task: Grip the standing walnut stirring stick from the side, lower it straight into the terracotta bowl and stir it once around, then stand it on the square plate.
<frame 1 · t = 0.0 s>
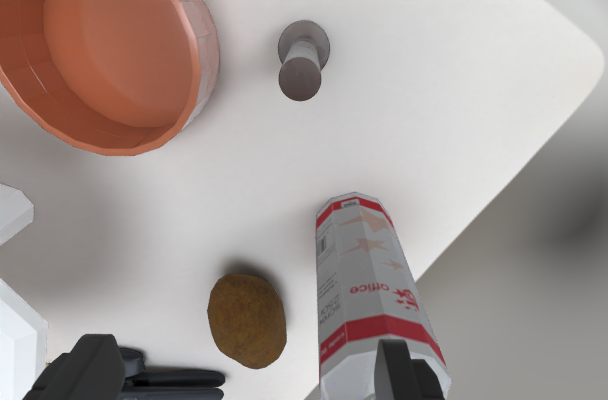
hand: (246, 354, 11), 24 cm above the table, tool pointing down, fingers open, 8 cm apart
bowl: (132, 47, 29), on the table
can opener: (162, 366, 49), on the table
stirrer: (304, 47, 29), on the table
table 2: (10, 204, 37), on the table
potato: (252, 295, 42), on the table
spray bottle: (351, 224, 37), on the table
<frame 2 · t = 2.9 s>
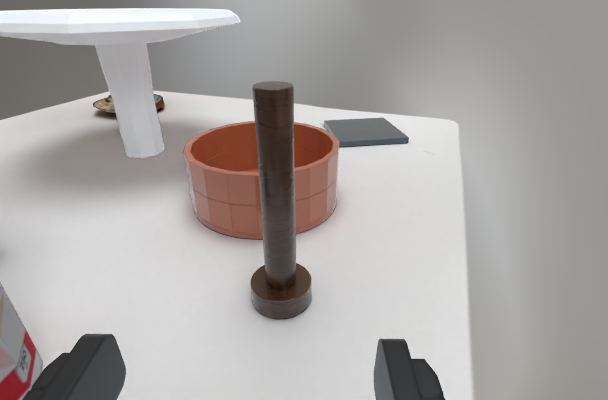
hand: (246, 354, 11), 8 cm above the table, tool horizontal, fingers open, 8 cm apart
bowl: (266, 198, 37), on the table
stirrer: (281, 296, 25), on the table
table 2: (145, 152, 48), on the table
square plate: (363, 133, 54), on the table
burger: (131, 111, 66), on the table
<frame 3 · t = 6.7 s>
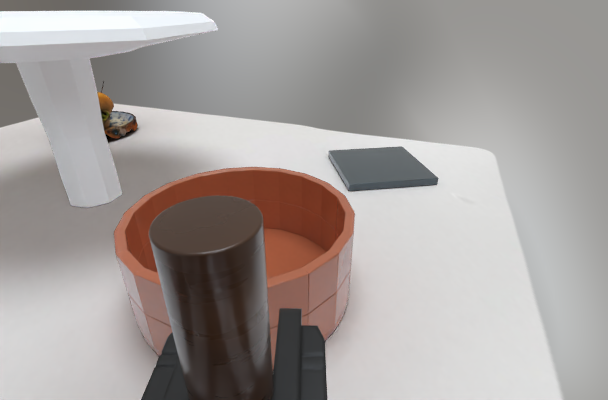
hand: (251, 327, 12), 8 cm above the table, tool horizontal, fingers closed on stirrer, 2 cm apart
bowl: (246, 285, 25), on the table
table 2: (97, 197, 37), on the table
square plate: (378, 169, 43), on the table
burger: (96, 133, 55), on the table
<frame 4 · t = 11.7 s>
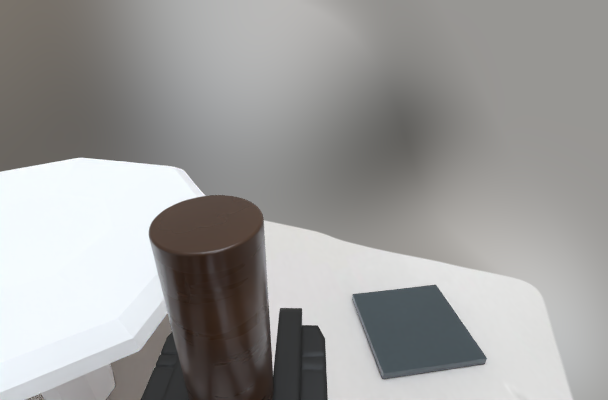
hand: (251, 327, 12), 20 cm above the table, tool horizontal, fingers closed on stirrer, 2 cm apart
table 2: (85, 392, 31), on the table
square plate: (412, 328, 37), on the table
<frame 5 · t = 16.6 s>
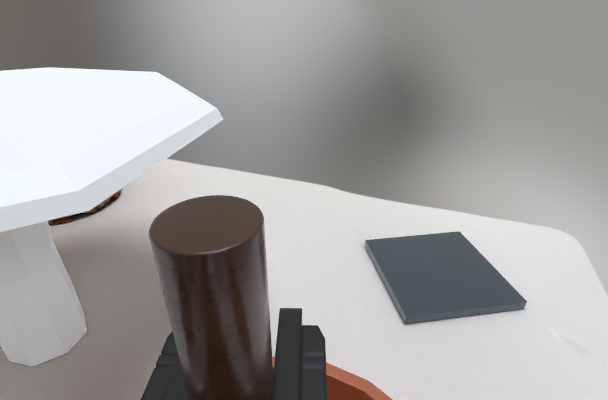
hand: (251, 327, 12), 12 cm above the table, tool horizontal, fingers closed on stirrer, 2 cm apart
table 2: (50, 338, 26), on the table
square plate: (435, 274, 32), on the table
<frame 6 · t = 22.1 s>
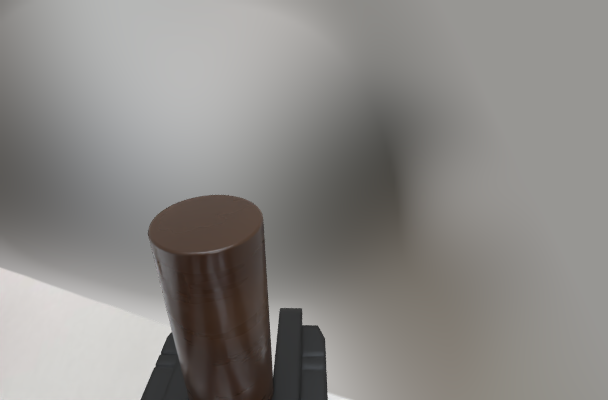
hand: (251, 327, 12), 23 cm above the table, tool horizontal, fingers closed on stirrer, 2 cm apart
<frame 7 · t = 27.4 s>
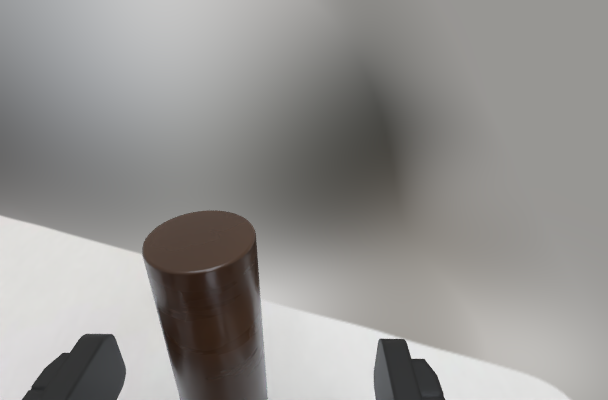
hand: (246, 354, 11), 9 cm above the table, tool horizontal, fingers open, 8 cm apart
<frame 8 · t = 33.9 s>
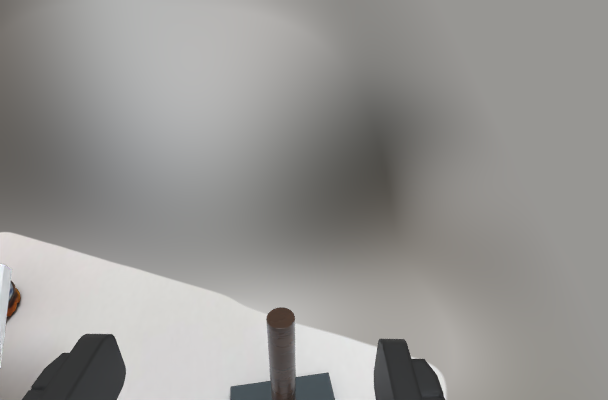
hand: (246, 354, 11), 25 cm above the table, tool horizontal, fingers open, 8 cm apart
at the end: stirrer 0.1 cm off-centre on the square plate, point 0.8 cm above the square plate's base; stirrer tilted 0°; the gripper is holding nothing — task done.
